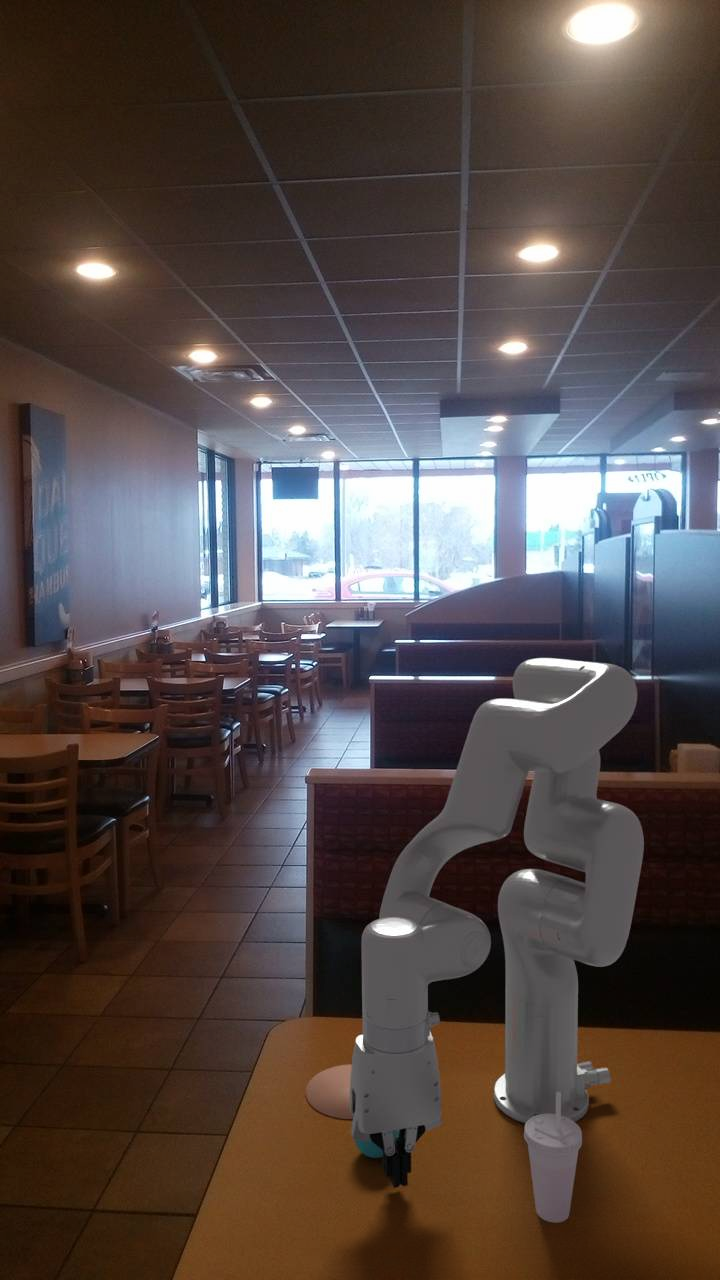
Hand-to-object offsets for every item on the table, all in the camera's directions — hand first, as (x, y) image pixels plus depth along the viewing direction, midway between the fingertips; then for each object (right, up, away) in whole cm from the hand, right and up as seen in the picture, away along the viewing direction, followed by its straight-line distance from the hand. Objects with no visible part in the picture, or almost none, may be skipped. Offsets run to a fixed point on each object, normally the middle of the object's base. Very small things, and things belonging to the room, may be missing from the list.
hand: (397, 1179), depth 109 cm
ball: (-2, +2, +7) cm, 7 cm away
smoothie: (+17, -2, -4) cm, 18 cm away
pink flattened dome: (-5, 0, +20) cm, 21 cm away
